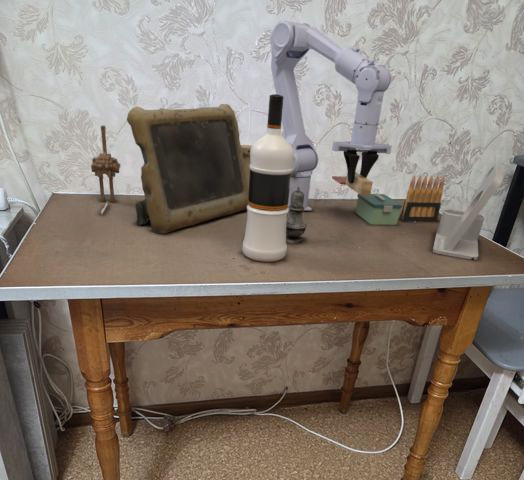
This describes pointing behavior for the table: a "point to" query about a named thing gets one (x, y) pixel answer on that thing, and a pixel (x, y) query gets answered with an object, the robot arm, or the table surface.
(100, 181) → the ostrich figurine
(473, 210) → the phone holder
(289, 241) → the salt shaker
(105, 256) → the table surface
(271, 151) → the vodka
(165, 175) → the tablet
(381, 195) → the tiffin box
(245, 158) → the handle
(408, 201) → the ammunition clip
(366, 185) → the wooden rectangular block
